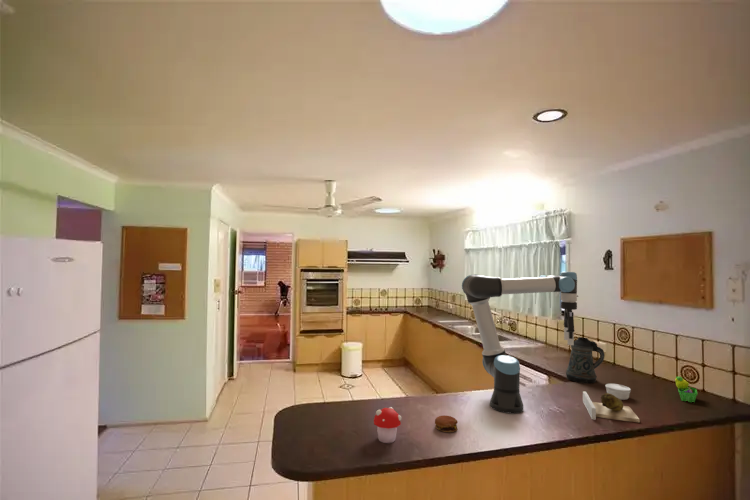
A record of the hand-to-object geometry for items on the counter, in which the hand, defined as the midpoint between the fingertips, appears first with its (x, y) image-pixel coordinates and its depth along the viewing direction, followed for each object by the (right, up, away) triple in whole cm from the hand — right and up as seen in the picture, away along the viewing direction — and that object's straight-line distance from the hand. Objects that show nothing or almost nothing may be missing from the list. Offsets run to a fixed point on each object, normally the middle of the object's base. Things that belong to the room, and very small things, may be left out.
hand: (568, 342), depth 199 cm
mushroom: (-96, -26, -50) cm, 111 cm away
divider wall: (+1, -28, -16) cm, 33 cm away
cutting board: (+11, -28, -20) cm, 36 cm away
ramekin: (+27, -30, +3) cm, 40 cm away
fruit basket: (+62, -30, +1) cm, 69 cm away
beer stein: (+25, -30, +32) cm, 51 cm away
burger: (-71, -27, -40) cm, 85 cm away
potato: (+10, -27, -20) cm, 35 cm away
